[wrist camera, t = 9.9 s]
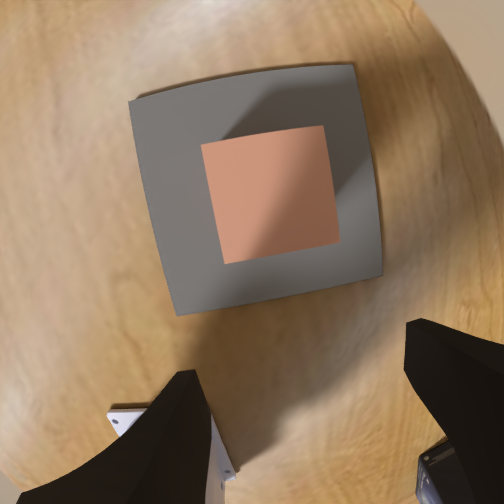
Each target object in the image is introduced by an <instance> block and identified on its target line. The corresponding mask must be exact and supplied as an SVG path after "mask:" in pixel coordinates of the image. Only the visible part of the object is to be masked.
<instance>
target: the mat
mask: <svg viewBox="0 0 504 504" xmlns="http://www.w3.org/2000/svg"><path fill="white" fill-rule="evenodd" d="M128 103H129V110H130V116H131V123H132V129H133V135H134V140H135V146H136V152H137V157H138V162H139V167H140V172H141V177H142V182H143V187H144V192H145V196H146V201H147V205H148V210H149V214H150V219H151V223H152V227H153V231H154V235H155V239H156V243H157V247H158V251H159V255H160V259H161V263H162V267H163V270H164V274H165V278H166V281H167V285H168V288H169V292H170V295H171V299H172V302H173V306H174V309H175V312H176V316H181V315H188V314H194V313H200V312H206V311H212V310H218V309H223V308H229V307H235V306H240V305H246V304H251V303H257V302H262V301H267V300H272V299H277V298H283V297H288V296H293V295H298V294H302V293H307V292H312V291H317V290H322V289H326V288H331V287H335V286H340V285H345V284H349V283H353V282H358V281H362V280H367V279H371V278H375V277H379V276H383V262H382V246H381V233H380V221H379V211H378V202H377V193H376V185H375V177H374V170H373V163H372V156H371V150H370V144H369V138H368V132H367V127H366V121H365V116H364V111H363V106H362V101H361V97H360V92H359V88H358V83H357V79H356V75H355V71H354V67H353V64H348V65H325V66H310V67H298V68H288V69H279V70H271V71H263V72H256V73H249V74H243V75H237V76H231V77H226V78H220V79H215V80H210V81H205V82H201V83H196V84H192V85H187V86H183V87H179V88H175V89H171V90H167V91H163V92H160V93H156V94H152V95H149V96H145V97H142V98H139V99H135V100H132V101H129V102H128ZM320 125H323V127H324V133H325V138H326V144H327V150H328V155H329V162H330V168H331V174H332V181H333V188H334V195H335V202H336V210H337V218H338V226H339V234H340V243H335V244H330V245H325V246H319V247H314V248H309V249H304V250H298V251H293V252H288V253H282V254H277V255H272V256H266V257H261V258H255V259H250V260H245V261H239V262H234V263H228V264H225V263H224V259H223V254H222V249H221V244H220V240H219V235H218V230H217V225H216V220H215V215H214V210H213V205H212V200H211V195H210V190H209V185H208V180H207V175H206V170H205V165H204V159H203V154H202V149H201V145H202V144H207V143H212V142H217V141H222V140H227V139H233V138H238V137H244V136H249V135H255V134H261V133H268V132H274V131H281V130H288V129H296V128H303V127H312V126H320Z"/></svg>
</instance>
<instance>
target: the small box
mask: <svg viewBox="0 0 504 504" xmlns="http://www.w3.org/2000/svg"><path fill="white" fill-rule="evenodd" d="M416 496H417V498H418V500H419V503H420V504H476V502H475V499H474V496H473V493H472V490H471V487H470V485H469V482H468V479H467V477H466V474H465V472H464V470H463V468H462V465H461V463H460V461H459V459H458V457H457V454H456V452H455V450H454V448H453V447H452V445H451V443H450V441H448V442H446V443H444V444H442V445H440V446H439V447H437V448H435V449H433V450H431V451H429V452H427V453H425V454H423V455H421V456H420V457H419V460H418V474H417V485H416Z"/></svg>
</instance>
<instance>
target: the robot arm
mask: <svg viewBox="0 0 504 504" xmlns="http://www.w3.org/2000/svg"><path fill="white" fill-rule="evenodd" d="M404 371H405V373H406V375H407V377H408V379H409V381H410V383H411V385H412V387H413V389H414V390H415V392H416V393H417V395H418V396H419V398H420V399H421V400H422V402H423V403H424V405H425V406H426V407H427V409H428V410H429V412H430V413H431V414H432V416H433V417H434V419H435V420H436V421H437V423H438V424H439V426H440V427H441V428H442V430H443V431H444V433H445V434H446V436H447V437H448V439H449V441H450V443H451V445H452V447H453V448H454V450H455V452H456V454H457V457H458V459H459V461H460V463H461V465H462V468H463V470H464V472H465V474H466V477H467V479H468V482H469V485H470V487H471V490H472V493H473V496H474V499H475V502H476V504H504V345H503V344H499V343H495V342H492V341H488V340H485V339H481V338H478V337H475V336H472V335H469V334H466V333H463V332H461V331H458V330H455V329H452V328H450V327H447V326H444V325H441V324H439V323H436V322H433V321H430V320H426V319H423V318H420V319H417V320H413V321H410V322H407V323H406V342H405V358H404ZM107 417H108V419H109V421H110V422H111V424H112V426H113V427H114V429H115V430H116V432H117V434H118V435H119V438H118V439H117V440H116V441H114V442H113V443H112V444H111V445H110V446H108V447H107V448H106V449H105V450H103V451H102V452H101V453H99V454H98V455H96V456H95V457H94V458H92V459H91V460H89V461H88V462H86V463H85V464H83V465H82V466H80V467H79V468H77V469H75V470H73V471H72V472H70V473H68V474H66V475H64V476H62V477H60V478H58V479H56V480H54V481H52V482H50V483H47V484H45V485H42V486H40V487H37V488H34V489H32V490H29V491H26V492H23V493H21V495H20V497H19V499H18V501H17V503H16V504H225V481H228V480H234V479H236V473H235V470H234V468H233V466H232V463H231V461H230V459H229V456H228V454H227V451H226V449H225V447H224V444H223V442H222V439H221V437H220V434H219V432H218V429H217V427H216V424H215V421H214V419H213V416H212V414H211V411H210V408H209V406H208V404H207V401H206V398H205V396H204V393H203V390H202V388H201V385H200V382H199V379H198V377H197V374H196V371H195V369H194V370H187V371H179V372H177V373H176V374H175V375H174V376H173V378H172V379H171V380H170V381H169V383H168V384H167V385H166V386H165V388H164V389H163V390H162V391H161V393H160V394H159V395H158V396H157V397H156V399H155V400H154V401H153V402H152V403H151V405H150V406H149V407H148V408H143V409H110V410H108V412H107Z"/></svg>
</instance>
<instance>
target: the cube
mask: <svg viewBox="0 0 504 504" xmlns="http://www.w3.org/2000/svg"><path fill="white" fill-rule="evenodd" d="M201 149H202V154H203V159H204V165H205V170H206V175H207V180H208V185H209V190H210V195H211V200H212V205H213V210H214V215H215V220H216V225H217V230H218V235H219V240H220V244H221V249H222V254H223V259H224V263H225V264H228V263H234V262H239V261H245V260H250V259H255V258H261V257H266V256H272V255H277V254H282V253H288V252H293V251H298V250H304V249H309V248H314V247H319V246H325V245H330V244H335V243H340V234H339V226H338V218H337V210H336V202H335V195H334V188H333V181H332V174H331V168H330V162H329V155H328V150H327V144H326V138H325V133H324V127H323V125H320V126H312V127H303V128H296V129H288V130H281V131H274V132H268V133H261V134H255V135H249V136H244V137H238V138H233V139H227V140H222V141H217V142H212V143H207V144H202V145H201Z"/></svg>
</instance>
